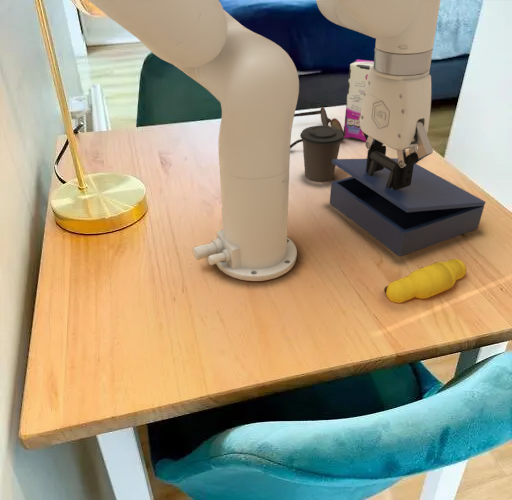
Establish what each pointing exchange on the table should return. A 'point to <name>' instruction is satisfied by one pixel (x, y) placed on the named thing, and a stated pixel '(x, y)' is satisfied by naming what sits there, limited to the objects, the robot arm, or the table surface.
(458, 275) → the yellow lobed rod
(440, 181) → the lid
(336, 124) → the eyeglasses
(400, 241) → the blue shallow open box
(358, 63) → the candy bar box
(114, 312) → the table surface
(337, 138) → the coffee cup
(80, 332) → the table surface
